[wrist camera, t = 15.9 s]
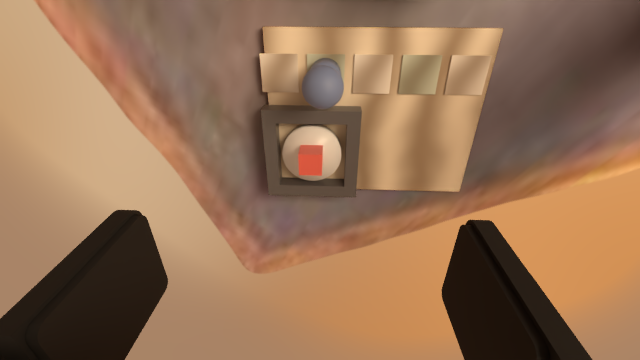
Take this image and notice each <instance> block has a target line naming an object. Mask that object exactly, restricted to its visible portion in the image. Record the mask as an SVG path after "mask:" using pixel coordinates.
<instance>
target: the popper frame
mask: <svg viewBox="0 0 640 360" xmlns="http://www.w3.org/2000/svg"><path fill="white" fill-rule="evenodd" d="M361 118H362V110H361V106H333V107H331V108H328V109H317V108H315V107H313V106H309V105H264V106H263V107H262V109H261V119H262V129H263V140H264V150H265V161H266V171H267V182H268V192H269V195H286V196H324V197H356V187H357V173H358V159H359V146H360V132H361ZM279 124H332V125H346V145H345V166H344V179H332V178H325V179H322V180H317V181H309V180H304V179H301V178H291V177H282V167H281V152H280V137H279Z"/></svg>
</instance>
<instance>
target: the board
mask: <svg viewBox="0 0 640 360" xmlns="http://www.w3.org/2000/svg"><path fill="white" fill-rule="evenodd" d="M262 29H263V41H264V53H260V54H259V55H260V66H261V77H262V88H263V92H268V103H269V105H309V106H311V105H310V104H309V103H308V102H307V101H306V100H305V98H304V96H303V93H302V81H303V78H304V76H305V74H306V73H307V72H308V71H309V70H310V69H311V67H312V65H313V63H314V62H315V61H317V60H318V59H321V58H330V59H332V60H334V61H335V62H336V63H337V64H338V65H339V67H340V69H341V77H342V79H343V83H344V91H343V95H342V97H341V99H340V101H339V102H338V103H337V104H336V105H334V106H361V110H362V118H361V132H360V146H359V159H358V173H357V187H356V189H375V190H415V191H455V192H459V191H460V187H461V183H462V180H463V176H464V172H465V169H466V165H467V161H468V158H469V154H470V150H471V146H472V143H473V139H474V135H475V132H476V128H477V124H478V121H479V117H480V113H481V109H482V106H483V102H484V98H485V95H486V91H487V87H488V84H489V80H490V76H491V73H492V69H493V65H494V61H495V58H496V54H497V50H498V47H499V43H500V39H501V36H502V32H503V28H415V27H262ZM300 125H302V124H279V137H280V152H281V167H282V177H291V178H299V177H297V176H295V175H294V174H292V173H291V172H290V171H289V170H288V168H287V167H286V165H285V163H284V160H283V155H282V151H283V146H284V143H285V140H286V138H287V136H288V135H289V133H290V132H291V131H292V130H293V129H294V128H296V127H297V126H300ZM321 125H324V126H326V127H328V128H329V129H331V130H332V131H333V132H334V133H335V134H336V135H337V137H338V139H339V141H340V144H341V161H340V164H339V166H338V168H337V169H336V171H335V172H334V173H333V174H332V175H330V176H329V177H327V178H332V179H344V166H345V145H346V125H332V124H321Z"/></svg>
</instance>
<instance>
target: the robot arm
mask: <svg viewBox="0 0 640 360" xmlns="http://www.w3.org/2000/svg"><path fill="white" fill-rule="evenodd" d="M167 284H168V278H167V275H166V272H165V270H164V267H163V264H162V261H161V258H160V255H159V252H158V249H157V246H156V243H155V240H154V238H153V235H152V232H151V229H150V226H149V223H148V220H147V218H146V217H145V216H143V215H142V214H141V213H140V212H139V211H136V210H117V211H115V212H113V213H112V214H111V215H110V216H109V217H108V218H107V219H106V220H105V221H104V222H103V223H102V224H100V225H99V226H98V227H97V228H96V229H95V230H94V231H93V232H92V233H91V234H90V235H89V236H88V237H87V238H86V239H84V241H82V242H81V244H79V245H78V246H77V247H76V248H75V249H74V250H73V251H72V252H71V253H70V254H69V255H67V256H66V257H65V258H64V259H63V260H62V261H61V262H60V263H59V264H58V265H57V266H56V267H55V268H54V269H53V270H52V271H50V272H49V273H48V274H47V275H46V276H45V277H44V278H43V279H42V280H41V281H40V282H39V283H38V284H37V285H36V286H35V287H34V288H33V289H31V290H30V291H29V292H28V293H27V294H26V295H25V296H24V297H23V298H22V299H21V300H20V301H19V302H18V303H17V304H16V305H15V306H13V307H12V308H11V309H10V310H9V311H8V312H7V313H6V314H5V315H4V316H3V317H2V318H1V319H0V360H125V358H126V356H127V355H128V353H129V351H130V349H131V348H132V346H133V344H134V343H135V341H136V339H137V338H138V336H139V334H140V332H141V331H142V329H143V328H144V326H145V324H146V323H147V321H148V319H149V317H150V316H151V314H152V312H153V311H154V309H155V307H156V306H157V304H158V302H159V300H160V299H161V297H162V295H163V294H164V292H165V290H166V288H167ZM442 298H443V302H444V304H445V307H446V310H447V313H448V316H449V318H450V321H451V324H452V327H453V329H454V332H455V335H456V338H457V340H458V343H459V346H460V349H461V351H462V354H463V357H464V359H465V360H592V359H591V357H590V356H589V355H588V353H587V352H586V350H585V349H584V348H583V346H582V345H581V343H580V342H579V341H578V339H577V338H576V336H575V335H574V334H573V332H572V331H571V329H570V328H569V327H568V325H567V324H566V323H565V321H564V320H563V318H562V317H561V316H560V314H559V313H558V312H557V310H556V309H555V307H554V306H553V305H552V303H551V302H550V300H549V299H548V298H547V296H546V295H545V293H544V292H543V291H542V289H541V288H540V286H539V285H538V284H537V282H536V281H535V280H534V278H533V277H532V276H531V274H530V273H529V272H528V271H527V269H526V268H525V266H524V265H523V264H522V262H521V261H520V259H519V258H518V257H517V255H516V254H515V252H514V251H513V250H512V248H511V247H510V245H509V244H508V243H507V241H506V240H505V239H504V237H503V236H502V234H501V233H500V232H499V230H498V229H497V227H496V226H495V225H494V223H493V222H492V221H489V220H468V221H467V223H466V225H462V226H461V227H460V229H459V232H458V235H457V239H456V243H455V246H454V250H453V253H452V256H451V259H450V263H449V267H448V270H447V273H446V277H445V280H444V283H443V287H442Z"/></svg>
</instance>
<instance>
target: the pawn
mask: <svg viewBox="0 0 640 360" xmlns="http://www.w3.org/2000/svg"><path fill="white" fill-rule="evenodd" d="M343 91H344V83H343V79H342V77H341V69H340V67H339V65H338V64H337V63H336V62H335V61H334V60H332V59H330V58H321V59H318V60H317V61H315V62H314V63H313V65H312V67H311V69H310V70H309V71H308V72H307V73H306V74H305V76H304V78H303V81H302V93H303V96H304V98H305V100H306V101H307V102H308V103H309V104H310V105H311V106H313V107H315V108H317V109H328V108H331V107H333V106H334V105H336V104H337V103H338V102H339V101H340V99H341V97H342V95H343Z"/></svg>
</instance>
